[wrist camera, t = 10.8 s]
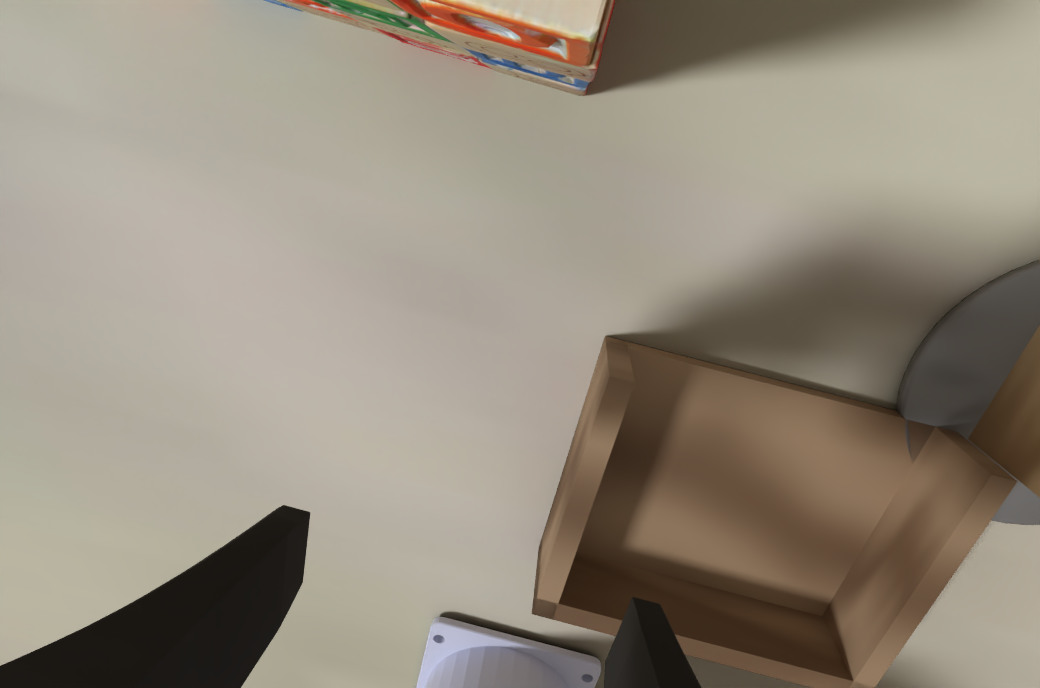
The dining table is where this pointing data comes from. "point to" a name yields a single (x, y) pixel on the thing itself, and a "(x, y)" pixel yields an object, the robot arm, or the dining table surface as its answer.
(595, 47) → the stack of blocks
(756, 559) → the crate
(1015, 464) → the oak block
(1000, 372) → the slate coaster
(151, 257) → the dining table surface
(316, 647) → the dining table surface
